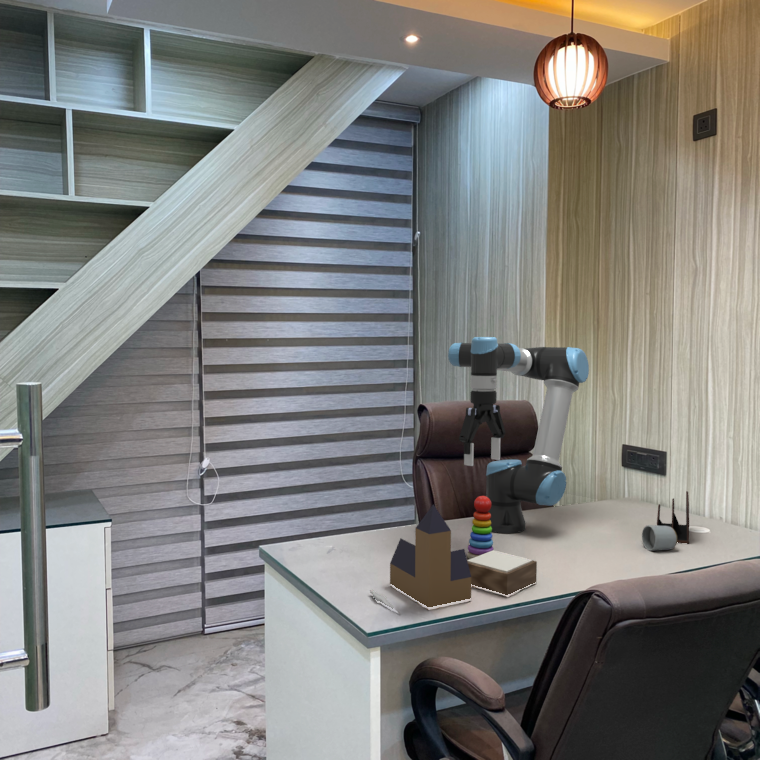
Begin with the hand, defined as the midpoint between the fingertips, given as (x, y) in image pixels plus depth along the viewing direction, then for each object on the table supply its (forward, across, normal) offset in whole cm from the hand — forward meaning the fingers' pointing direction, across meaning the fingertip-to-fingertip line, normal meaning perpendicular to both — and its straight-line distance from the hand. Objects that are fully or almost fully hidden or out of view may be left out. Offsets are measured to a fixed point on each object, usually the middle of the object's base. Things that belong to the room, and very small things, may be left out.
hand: (482, 462), depth 209 cm
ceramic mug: (+29, +46, -34) cm, 64 cm away
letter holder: (+29, +65, -31) cm, 78 cm away
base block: (+29, -14, -16) cm, 36 cm away
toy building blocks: (+29, -32, -7) cm, 44 cm away
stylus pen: (+29, -46, -4) cm, 54 cm away
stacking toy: (+29, 0, 0) cm, 29 cm away
